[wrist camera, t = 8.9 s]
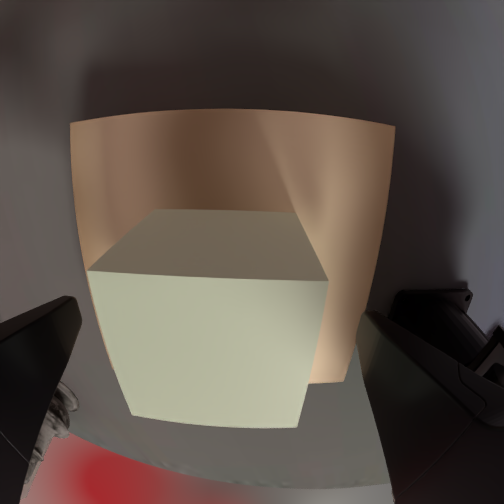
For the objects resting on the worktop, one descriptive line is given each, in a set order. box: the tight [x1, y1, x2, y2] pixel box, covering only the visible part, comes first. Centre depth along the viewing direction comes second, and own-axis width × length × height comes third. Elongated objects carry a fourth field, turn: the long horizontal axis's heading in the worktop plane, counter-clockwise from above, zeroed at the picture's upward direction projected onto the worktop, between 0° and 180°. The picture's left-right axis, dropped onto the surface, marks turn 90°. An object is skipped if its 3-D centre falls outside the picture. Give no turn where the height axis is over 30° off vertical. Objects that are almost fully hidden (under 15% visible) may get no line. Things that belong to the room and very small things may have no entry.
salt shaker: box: [24, 382, 79, 484], centre depth 15 cm, size 6×6×12 cm
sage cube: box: [87, 209, 329, 428], centre depth 9 cm, size 5×5×5 cm
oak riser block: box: [70, 109, 395, 383], centre depth 13 cm, size 12×12×4 cm
